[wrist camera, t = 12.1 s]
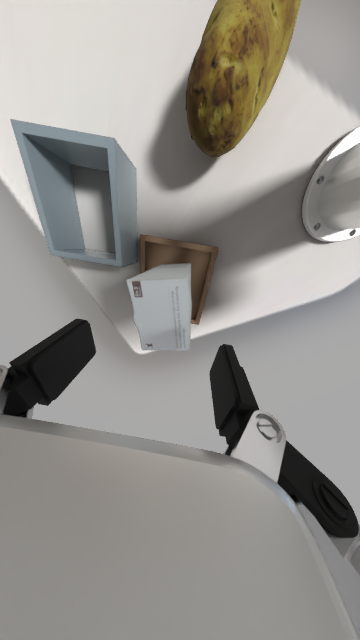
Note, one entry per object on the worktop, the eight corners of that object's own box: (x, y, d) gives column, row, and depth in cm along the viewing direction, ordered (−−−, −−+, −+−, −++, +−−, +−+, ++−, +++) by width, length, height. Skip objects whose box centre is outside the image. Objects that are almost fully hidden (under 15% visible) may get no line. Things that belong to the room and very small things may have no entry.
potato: (300, 91, 16) (389, -33, 9) (204, 187, 20) (212, 156, 13) (273, -25, 13) (375, -357, 6) (168, 117, 17) (153, 31, 10)
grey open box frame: (136, 168, 20) (114, 138, 14) (137, 262, 26) (122, 267, 20) (62, 155, 19) (10, 119, 14) (81, 252, 26) (50, 255, 20)
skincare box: (192, 303, 28) (193, 354, 15) (163, 304, 29) (141, 354, 16) (191, 259, 24) (192, 278, 11) (158, 261, 25) (121, 281, 12)
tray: (216, 247, 24) (218, 247, 21) (198, 319, 31) (198, 324, 29) (144, 235, 23) (140, 234, 21) (143, 310, 31) (140, 315, 29)
